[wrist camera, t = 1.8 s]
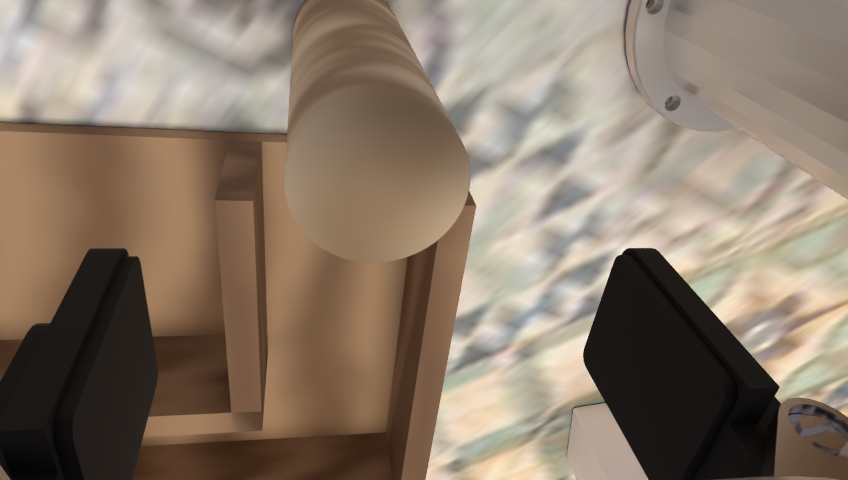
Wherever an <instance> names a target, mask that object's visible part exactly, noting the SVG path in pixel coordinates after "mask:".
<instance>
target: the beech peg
mask: <svg viewBox="0 0 848 480" xmlns="http://www.w3.org/2000/svg"><path fill="white" fill-rule="evenodd" d="M469 186H470V166H469V160H468V156H467V153H466V150H465V147H464V145H463V143H462V141H461V139H460V138H459V136H458V134H457V132H456V130H455V128H454V126H453V124H452V122H451V121H450V119H449V117H448V115H447V113H446V111H445V109H444V107H443V106H442V104H441V102H440V100H439V98H438V96H437V94H436V92H435V91H434V89H433V87H432V85H431V83H430V81H429V79H428V77H427V75H426V74H425V72H424V70H423V68H422V66H421V64H420V62H419V60H418V59H417V57H416V55H415V53H414V51H413V49H412V47H411V45H410V44H409V42H408V40H407V38H406V36H405V34H404V32H403V30H402V29H401V27H400V25H399V23H398V21H397V19H396V17H395V15H394V13H393V12H392V10H391V8H390V7H389V5H388V4H387V3H386V1H385V0H306V1H305V2H304V4H303V5H302V6H301V8H300V10H299V12H298V14H297V17H296V20H295V24H294V31H293V48H292V65H291V82H290V99H289V116H288V133H287V150H286V167H285V195H286V200H287V204H288V207H289V210H290V212H291V215H292V217H293V218H294V220H295V222H296V223H297V225H298V226H299V228H300V229H301V230H302V232H303V233H304V234H305V235H306V236H307V237H308V238H309V239H310V240H311V241H312V242H314V243H315V244H316V245H318V246H319V247H321V248H322V249H324V250H326V251H328V252H329V253H331V254H334V255H336V256H339V257H341V258H345V259H348V260H353V261H359V262H370V263H376V262H388V261H394V260H398V259H402V258H406V257H408V256H411V255H413V254H416V253H418V252H420V251H422V250H424V249H426V248H427V247H429V246H430V245H432V244H433V243H435V242H436V241H437V240H438V239H440V238H441V237H442V236H443V235H444V234H445V233H446V232H447V231H448V230H449V229H450V228H451V227H452V225H453V224H454V223H455V221H456V220H457V218H458V217H459V215H460V213H461V211H462V209H463V207H464V205H465V202H466V200H467V196H468V192H469Z"/></svg>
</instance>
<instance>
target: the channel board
mask: <svg viewBox="0 0 848 480" xmlns="http://www.w3.org/2000/svg"><path fill="white" fill-rule="evenodd" d="M286 150H287V135H284V134H261V133H237V132H214V131H191V130H167V129H144V128H120V127H97V126H73V125H50V124H27V123H3V122H0V381H1V379H2V377H3V375H4V374H5V372H6V370H7V368H8V366H9V365H10V363H11V361H12V359H13V357H14V356H15V354H16V352H17V350H18V348H19V346H20V345H21V343H22V341H23V339H24V337H25V336H26V334H27V332H28V331H29V330H30V328H31V327H32V326H33V325H35V324H37V323H51V321H52V319H53V317H54V315H55V313H56V311H57V309H58V307H59V305H60V304H61V302H62V300H63V298H64V296H65V294H66V292H67V290H68V288H69V286H70V284H71V282H72V280H73V278H74V276H75V274H76V273H77V271H78V269H79V267H80V265H81V263H82V261H83V259H84V257H85V255H86V253H87V252H88V250H89V249H91V248H125V249H126V250H127V252H128V254H129V256H137V257H139V259H140V263H141V268H142V274H143V281H144V287H145V293H146V299H147V305H148V311H149V317H150V324H151V330H152V336H153V342H154V348H155V354H156V360H157V368H158V377H157V385H156V389H155V393H154V397H153V401H152V405H151V409H150V412H149V416H148V420H147V424H146V428H145V432H144V435H143V439H142V443H141V447H140V451H139V455H138V459H137V462H136V466H135V470H134V474H133V478H132V480H425V479H426V473H427V468H428V462H429V457H430V452H431V446H432V441H433V435H434V430H435V425H436V419H437V414H438V408H439V403H440V398H441V392H442V387H443V382H444V376H445V371H446V365H447V360H448V355H449V349H450V344H451V338H452V333H453V328H454V322H455V317H456V312H457V306H458V301H459V295H460V290H461V285H462V279H463V274H464V268H465V263H466V258H467V252H468V247H469V241H470V236H471V231H472V225H473V220H474V215H475V209H476V204H475V202H474V200H473V198H472V196H471V194H470V192H468V196H467V200H466V202H465V205H464V207H463V209H462V211H461V213H460V215H459V217H458V218H457V220H456V221H455V223H454V224H453V225H452V227H451V228H450V229H449V230H448V231H447V232H446V233H445V234H444V235H443V236H442V237H441V238H440V239H438V240H437V241H436V242H435V243H433V244H432V245H430V246H429V247H427V248H426V249H424V250H422V251H420V252H418V253H416V254H413V255H411V256H408V257H406V258H402V259H398V260H394V261H388V262H376V263H370V262H359V261H353V260H348V259H345V258H341V257H339V256H336V255H334V254H331V253H329V252H328V251H326V250H324V249H322V248H321V247H319V246H318V245H316V244H315V243H314V242H312V241H311V240H310V239H309V238H308V237H307V236H306V235H305V234H304V233H303V232H302V230H301V229H300V228H299V226H298V225H297V223H296V222H295V220H294V218H293V217H292V215H291V212H290V210H289V207H288V204H287V200H286V195H285V167H286Z"/></svg>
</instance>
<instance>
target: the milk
mask: <svg viewBox="0 0 848 480" xmlns="http://www.w3.org/2000/svg"><path fill="white" fill-rule="evenodd" d="M567 458H568V461H569V463H570V465H571V468H572V470H573V472H574V475H575V477H576V479H577V480H648V478H647V476H646V474H645V473H644V471H643V469H642V467H641V465H640V464H639V462H638V460H637V458H636V456H635V455H634V453H633V451H632V449H631V447H630V446H629V444H628V442H627V440H626V438H625V437H624V435H623V433H622V431H621V429H620V428H619V426H618V424H617V422H616V420H615V419H614V417H613V415H612V413H611V411H610V410H609V408H608V406H607V404H606V403H601V404H595V405H589V406H583V407H577V408H574V409H573V415H572V422H571V429H570V436H569V443H568V450H567Z"/></svg>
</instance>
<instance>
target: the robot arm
mask: <svg viewBox="0 0 848 480" xmlns="http://www.w3.org/2000/svg"><path fill="white" fill-rule="evenodd" d="M647 2H648V0H631V3H630V6H629V12H628V18H627V25H626V56H627V61H628V65H629V69H630V74H631V76H632V79H633V81H634V83H635V85H636V87H637V89H638V91H639V93H640V94H641V95H642V97H643V98H644V99H645V100H646V101H647V103H648V104H649V105H650V106H651V107H652V108H653V109H654V110H656V111H657V112H658V113H659V114H661V115H662V116H663V117H665V118H666V119H668V120H670V121H672V122H674V123H675V124H677V125H679V126H682V127H685V128H689V129H692V130H696V131H709V132H719V131H726V130H733V129H738V128H739V129H740V130H742V131H743V132H745V133H746V134H748V135H749V136H751V137H752V138H754V139H755V140H757V141H759V142H760V143H762V144H763V145H765V146H766V147H768V148H769V149H771V150H772V151H774V152H775V153H777V154H779V155H780V156H782V157H783V158H785V159H786V160H788V161H789V162H791V163H792V164H794V165H795V166H797V167H798V168H800V169H802V170H803V171H805V172H806V173H808V174H809V175H811V176H812V177H814V178H815V179H817V180H818V181H820V182H821V183H823V184H825V185H826V186H828V187H829V188H831V189H832V190H834V191H835V192H837V193H838V194H840V195H841V196H843V197H845V198H846V199H848V0H650V2H649V4H648V5H646V4H647ZM583 358H584V363H585V366H586V368H587V370H588V372H589V374H590V375H591V377H592V379H593V381H594V383H595V384H596V386H597V388H598V390H599V392H600V393H601V395H602V397H603V399H604V401H605V402H606V404H607V406H608V408H609V410H610V411H611V413H612V415H613V417H614V419H615V420H616V422H617V424H618V426H619V428H620V429H621V431H622V433H623V435H624V437H625V438H626V440H627V442H628V444H629V446H630V447H631V449H632V451H633V453H634V455H635V456H636V458H637V460H638V462H639V464H640V465H641V467H642V469H643V471H644V473H645V474H646V476H647V478H648V480H848V417H846V416H845V415H844V414H842V413H841V412H839V411H838V410H836V409H834V408H832V407H830V406H828V405H826V404H824V403H821V402H818V401H815V400H811V399H806V398H791V399H787V400H786V401H784V402H783V403H780V402H779V401H778V400H777V399H776V398H775V394H776V392H777V391H778V389H779V386H778V385H777V383H776V382H775V381H774V380H773V379H772V378H771V377H770V376H769V374H768V373H767V372H766V371H765V370H764V369H763V368H762V367H761V366H760V364H759V363H758V362H757V361H756V360H755V359H754V358H753V357H752V355H751V354H750V353H749V352H748V351H747V350H746V349H745V348H744V347H743V345H742V344H741V343H740V342H739V341H738V340H737V339H736V338H735V336H734V335H733V334H732V333H731V332H730V331H729V330H728V329H727V328H726V326H725V325H724V324H723V323H722V322H721V321H720V320H719V319H718V317H717V316H716V315H715V314H714V313H713V312H712V311H711V310H710V308H709V307H708V306H707V305H706V304H705V303H704V302H703V301H702V300H701V298H700V297H699V296H698V295H697V294H696V293H695V292H694V291H693V289H692V288H691V287H690V286H689V285H688V284H687V283H686V282H685V281H684V279H683V278H682V277H681V276H680V275H679V274H678V273H677V272H676V270H675V269H674V268H673V267H672V266H671V265H670V264H669V263H668V261H667V260H666V259H665V258H664V257H663V256H662V255H661V254H660V253H659V251H657V250H656V249H653V248H629V249H626V250H625V251H624V252H623V253H622V255H619V256H617V257H616V259H615V261H614V264H613V266H612V269H611V272H610V275H609V278H608V281H607V284H606V287H605V290H604V293H603V295H602V298H601V301H600V304H599V307H598V310H597V313H596V316H595V319H594V322H593V325H592V327H591V330H590V333H589V336H588V339H587V342H586V345H585V348H584V353H583ZM157 377H158V368H157V360H156V354H155V348H154V342H153V336H152V330H151V324H150V317H149V311H148V305H147V299H146V293H145V287H144V281H143V274H142V268H141V263H140V259H139V257H137V256H129V254H128V252H127V250H126V249H125V248H91V249H89V250H88V252H87V253H86V255H85V257H84V259H83V261H82V263H81V265H80V267H79V269H78V271H77V273H76V274H75V276H74V278H73V280H72V282H71V284H70V286H69V288H68V290H67V292H66V294H65V296H64V298H63V300H62V302H61V304H60V305H59V307H58V309H57V311H56V313H55V315H54V317H53V319H52V321H51V323H37V324H35V325H33V326H32V327H31V328H30V330H29V331H28V332H27V334H26V336H25V337H24V339H23V341H22V343H21V345H20V346H19V348H18V350H17V352H16V354H15V356H14V357H13V359H12V361H11V363H10V365H9V366H8V368H7V370H6V372H5V374H4V375H3V377H2V379H1V381H0V480H132V478H133V474H134V470H135V466H136V462H137V459H138V455H139V451H140V447H141V443H142V439H143V435H144V432H145V428H146V424H147V420H148V416H149V412H150V409H151V405H152V401H153V397H154V393H155V389H156V385H157Z"/></svg>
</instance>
